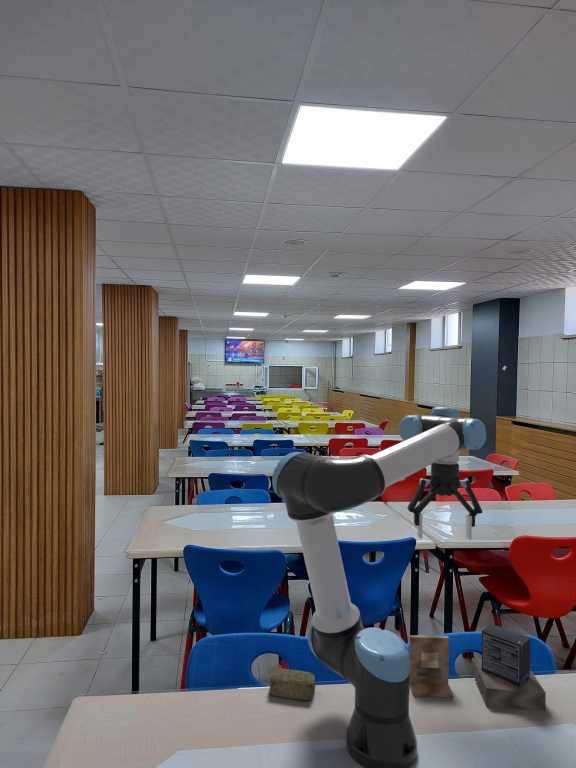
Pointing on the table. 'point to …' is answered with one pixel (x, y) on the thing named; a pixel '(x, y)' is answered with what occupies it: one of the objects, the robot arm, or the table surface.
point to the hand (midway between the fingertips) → (444, 537)
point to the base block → (508, 690)
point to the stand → (429, 666)
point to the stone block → (292, 684)
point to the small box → (506, 654)
